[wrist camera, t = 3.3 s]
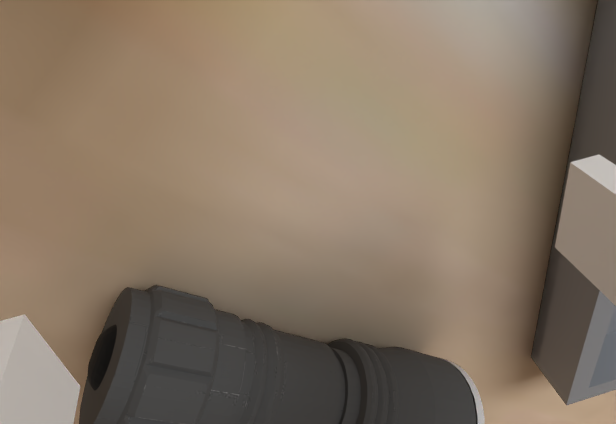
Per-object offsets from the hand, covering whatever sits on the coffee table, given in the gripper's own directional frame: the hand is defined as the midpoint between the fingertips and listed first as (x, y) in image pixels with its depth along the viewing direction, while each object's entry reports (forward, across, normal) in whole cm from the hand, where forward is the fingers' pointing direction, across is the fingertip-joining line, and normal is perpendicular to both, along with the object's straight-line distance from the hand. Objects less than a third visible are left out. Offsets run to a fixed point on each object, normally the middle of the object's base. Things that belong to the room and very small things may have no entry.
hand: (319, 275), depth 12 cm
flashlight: (-1, -4, -3) cm, 5 cm away
